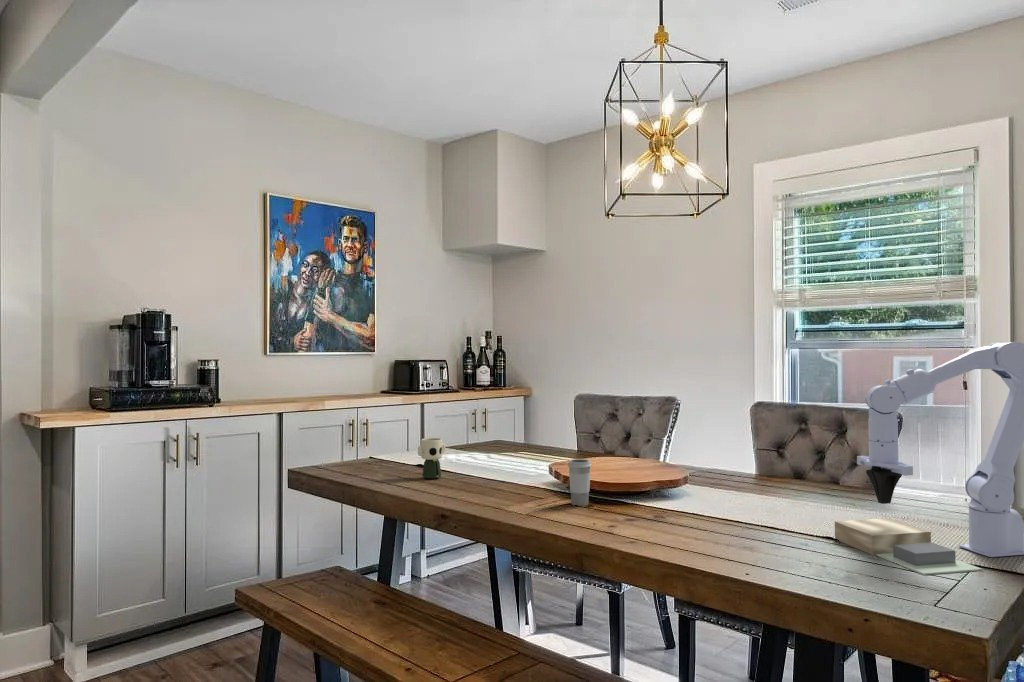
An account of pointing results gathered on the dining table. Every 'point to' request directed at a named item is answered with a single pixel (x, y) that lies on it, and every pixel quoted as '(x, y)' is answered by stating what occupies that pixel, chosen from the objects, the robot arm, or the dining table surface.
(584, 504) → the cup
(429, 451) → the character mug
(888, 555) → the mat
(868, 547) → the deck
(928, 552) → the slate tile
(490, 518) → the dining table surface
